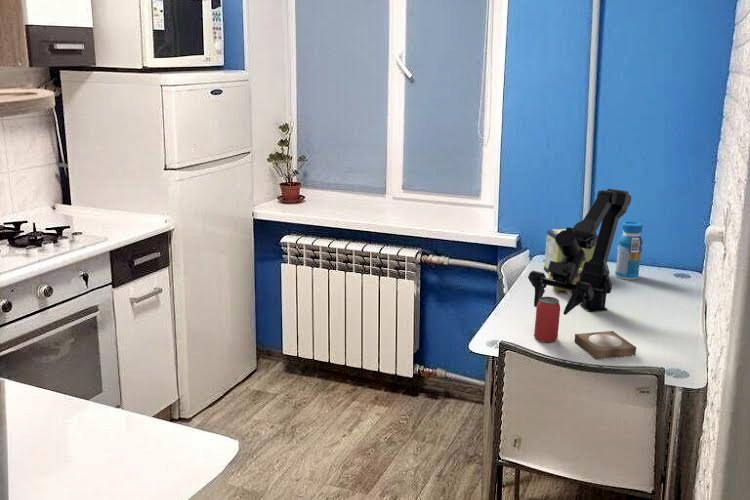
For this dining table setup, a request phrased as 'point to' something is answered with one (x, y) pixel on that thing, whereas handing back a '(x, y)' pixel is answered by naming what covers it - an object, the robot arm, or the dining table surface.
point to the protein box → (554, 252)
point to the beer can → (547, 319)
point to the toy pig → (573, 282)
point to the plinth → (605, 345)
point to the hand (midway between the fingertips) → (549, 310)
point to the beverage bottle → (629, 251)
